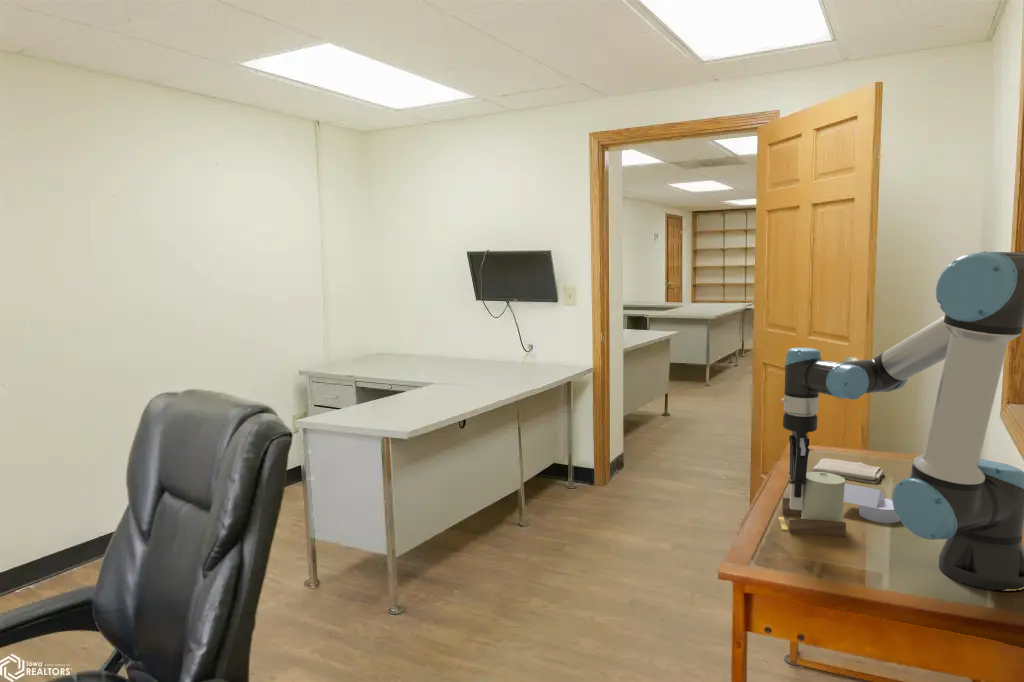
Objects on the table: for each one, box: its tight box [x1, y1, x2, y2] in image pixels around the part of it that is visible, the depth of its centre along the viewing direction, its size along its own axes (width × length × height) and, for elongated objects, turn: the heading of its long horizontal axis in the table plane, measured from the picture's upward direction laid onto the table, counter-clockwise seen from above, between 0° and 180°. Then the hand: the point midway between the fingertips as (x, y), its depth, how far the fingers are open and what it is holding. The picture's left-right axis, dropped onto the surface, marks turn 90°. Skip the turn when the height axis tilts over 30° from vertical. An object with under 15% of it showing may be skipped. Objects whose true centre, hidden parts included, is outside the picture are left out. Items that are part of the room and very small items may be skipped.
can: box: [800, 471, 846, 522], centre depth 163 cm, size 9×9×12 cm
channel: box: [777, 496, 847, 538], centre depth 165 cm, size 13×14×4 cm
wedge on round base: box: [843, 482, 901, 524], centre depth 170 cm, size 9×7×13 cm
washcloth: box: [811, 457, 884, 485], centre depth 202 cm, size 12×18×3 cm, turn 54°
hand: (795, 508), depth 165 cm, fingers closed
